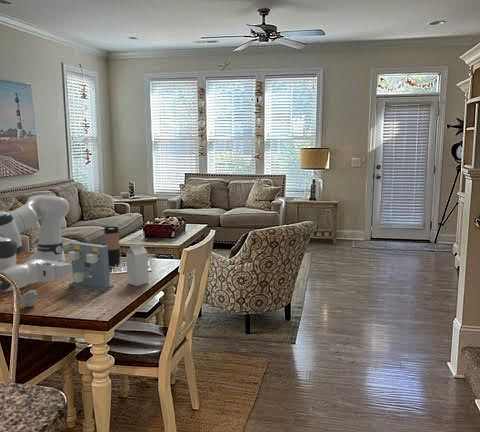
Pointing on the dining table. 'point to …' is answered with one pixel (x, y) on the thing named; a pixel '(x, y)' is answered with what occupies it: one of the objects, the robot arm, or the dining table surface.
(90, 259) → the button top right
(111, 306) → the dining table surface
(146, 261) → the milk carton
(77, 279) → the button bottom
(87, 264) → the panel
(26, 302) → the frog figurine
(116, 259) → the travel mug
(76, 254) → the button top left
